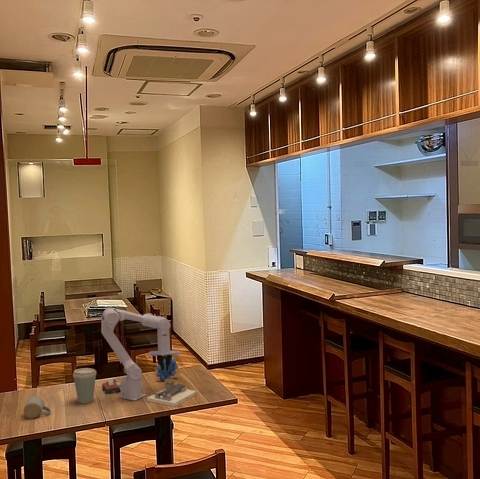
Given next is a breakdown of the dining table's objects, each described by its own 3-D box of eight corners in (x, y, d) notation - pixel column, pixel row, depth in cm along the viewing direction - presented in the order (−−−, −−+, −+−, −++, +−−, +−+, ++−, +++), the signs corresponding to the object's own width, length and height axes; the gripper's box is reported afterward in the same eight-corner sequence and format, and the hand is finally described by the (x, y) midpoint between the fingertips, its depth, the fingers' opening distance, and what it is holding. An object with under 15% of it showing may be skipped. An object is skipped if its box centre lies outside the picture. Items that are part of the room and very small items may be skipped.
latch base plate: (147, 401, 237) (146, 391, 236) (170, 389, 251) (169, 380, 251) (174, 406, 228) (174, 397, 228) (196, 394, 243) (196, 385, 243)
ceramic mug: (23, 420, 219) (22, 402, 218) (26, 413, 227) (25, 396, 226) (49, 417, 221) (49, 400, 221) (51, 410, 229) (51, 393, 229)
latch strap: (165, 397, 232) (165, 394, 232) (158, 396, 234) (158, 393, 234) (185, 387, 245) (184, 384, 245) (178, 386, 247) (178, 383, 247)
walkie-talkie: (125, 393, 249) (116, 381, 267) (124, 384, 249) (115, 373, 267) (106, 396, 246) (99, 384, 264) (106, 387, 245) (98, 376, 263)
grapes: (175, 376, 272) (174, 353, 271) (179, 379, 266) (178, 356, 265) (154, 379, 267) (153, 356, 267) (157, 383, 261) (156, 360, 261)
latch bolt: (164, 382, 247) (164, 380, 247) (168, 380, 250) (168, 378, 250) (171, 383, 245) (170, 381, 245) (174, 381, 248) (174, 379, 248)
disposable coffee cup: (88, 395, 246) (86, 365, 246) (103, 399, 240) (101, 368, 239) (69, 402, 238) (67, 371, 237) (84, 407, 232) (82, 374, 231)
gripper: (146, 345, 244) (148, 373, 245) (176, 344, 243) (178, 372, 243) (150, 341, 251) (152, 368, 252) (179, 340, 250) (181, 368, 250)
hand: (165, 370), depth 248 cm, fingers closed
